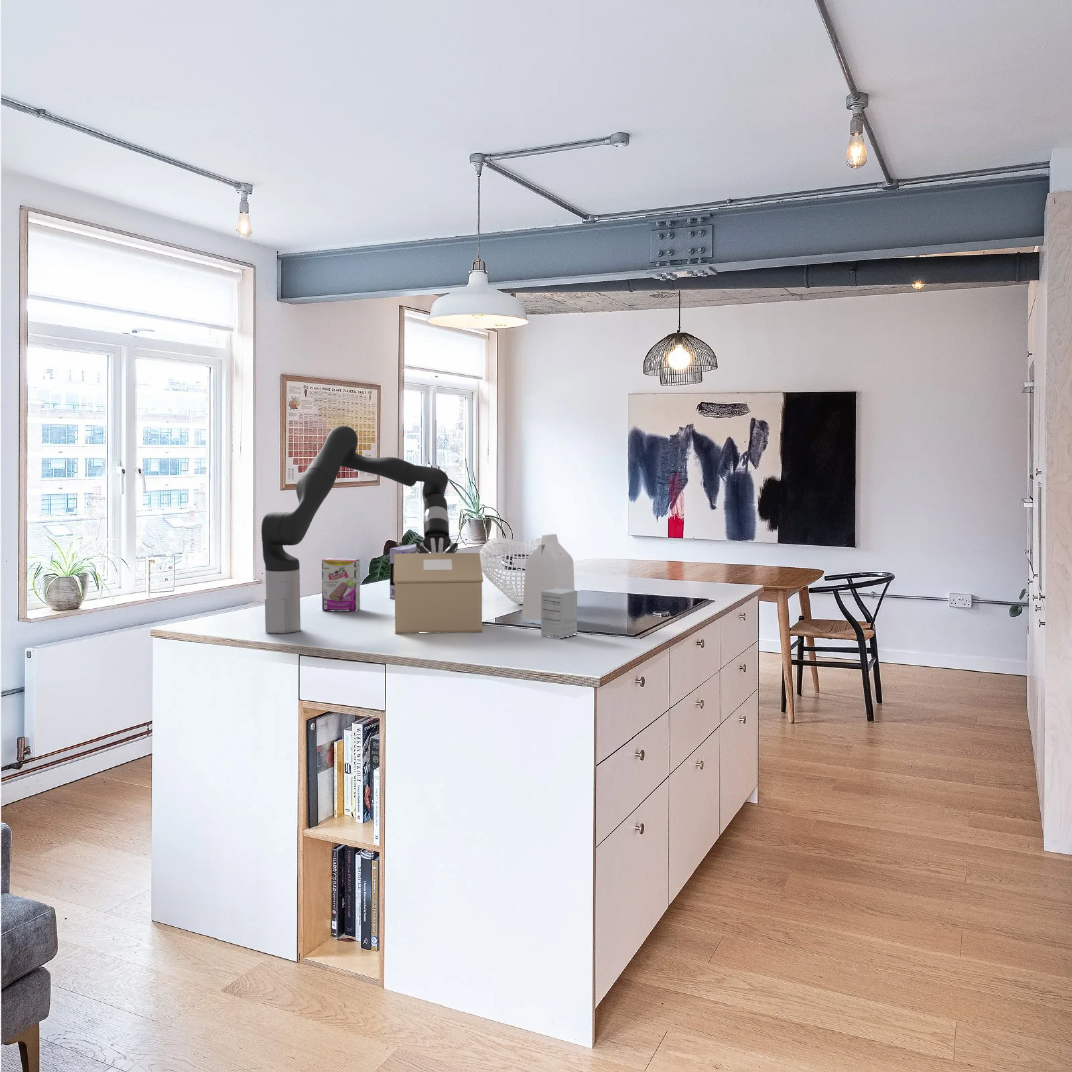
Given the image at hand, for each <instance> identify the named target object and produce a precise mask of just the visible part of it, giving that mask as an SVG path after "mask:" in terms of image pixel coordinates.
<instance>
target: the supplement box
mask: <svg viewBox="0 0 1072 1072" xmlns="http://www.w3.org/2000/svg"><path fill="white" fill-rule="evenodd" d="M576 632H577V633H578V590H575V589H574V590H569V589H560V588H555V589H550V590H545V591H541V625H540V635H541V637H544V636H550V637H556V638H564V637H567V636H571V635H573V634H575V633H576ZM550 637H549V638H550ZM556 638H555V639H556ZM564 639H565V638H564Z"/></svg>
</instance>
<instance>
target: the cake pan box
mask: <svg viewBox="0 0 1072 1072" xmlns="http://www.w3.org/2000/svg"><path fill="white" fill-rule="evenodd" d="M420 543H421V542H420ZM420 543H419V544H420ZM416 544H417V543H414V544H409V545H408V544H406V545H401V546H396V547H391V548H390V549H389V599H391V600H395V583H394V554H414V553H418V552H417V551H416ZM424 548H425V547H424ZM425 549H426V548H425ZM426 550H427V549H426ZM427 551H428V550H427ZM428 552H429V551H428Z"/></svg>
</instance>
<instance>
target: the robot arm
mask: <svg viewBox="0 0 1072 1072" xmlns="http://www.w3.org/2000/svg"><path fill="white" fill-rule="evenodd" d="M357 434H358V433H356V431H355V430H354V429H353V428H352V427H350V426H348V425H340V426H339V425H338V426H337V427H334V428H332V430H330V431H329V433H328V434H327V438H326V439H325V442H324V443H323V445H322V448H321V449H320V450H319V451H318V452H317V455H315V457H314V458H313V459H312V461H311V462H310V464H309V465H308V466H307V468H306V469H305V470H304V471H303V473H302V475H301V476H300V477H299V479H298V481H297V482H296V486H295V492H296V497H297V499H298V505H297V507H296V508H295V509H294V510H293V511H290V512H289V511H287V512H285V511H271V512H270V511H269V512H267V513H266V514H264V516H263V519H262V522H261V527H260V528H261V530H260V531H261V533H260V534H261V543H262V557H263V561H264V562H263V563H264V566H265V568H264V569H265V599H264V617H265V618H264V623H265V626H264V628H265V633H268V634H269V633H271V634H289V633H294V632H296V633H297V632H299V631H301V628H302V627H301V587H300V586H301V583H300V582H301V581H300V580H301V578H300V560H299V558H297V557H295V556H293V555H291V554H289V553H288V552H287V551H285V549H284V546H296V545H299V544H300V543H301V542H302V541H303V540H304V538H305V536H306V534H307V532H308V530H309V528H310V526H311V523H312V521H313V519H314V517H315V516H316V514H317V512H318V510H319V509H320V507H321V505H322V504H323V502H324V500H325V499H326V498H327V496H328V494H330V492H331V490H332V488H333V487H334V485H335V483H336V479H337V477H338V475H339V472H340V469H341V467H343V468H347V469H350V470H355V471H359V472H363V473H366V474H367V473H368V474H372V475H377V476H380V477H384V478H387V479H389V480H391V481H394V482H397V483H398V484H401V485H404V486H407V487H411V488H412V487H414V486H415V485H416V483H417V482H422V483H423V486H422V491H421V492H422V495H421V496H422V500H423V504H424V505H423V507H424V509H423V511H424V512H423V513H424V515H423V539H422V541H421V542H420V544H419V543H418V542H417V543H415V544H416V551H417V552H418V553H457V551H458V549H459V543H458V542H452V540H451V537H450V520H449V514H448V513H449V512H448V503H447V502H448V501H447V499H446V497H445V494H446V489H447V486H448V484H449V477H448V475H447V473H446V472H445V471H444V470H442V469H440V468H438V467H433V466H425V465H416V464H413V463H412V462H409V461H406V460H404V459H401V458H398V457H392V456H386V457H384V456H383V457H366V456H363V455H361V454H360V453H357V447H358V443H359V441H358V435H357ZM424 547H425V548H426V549H427V550H428V551H427V550H426V549H425V548H424Z"/></svg>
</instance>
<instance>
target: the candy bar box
mask: <svg viewBox="0 0 1072 1072" xmlns="http://www.w3.org/2000/svg"><path fill="white" fill-rule="evenodd" d="M321 590H322V591H321V609H322V610H349V611H348V612H353V611H356V610H358V609H359V610H361V559H359V558H343V557H342V558H338V557H337V558H336V557H335V558H334V557H326V558H322V560H321ZM359 610H358V611H359ZM356 612H357V611H356Z"/></svg>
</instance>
